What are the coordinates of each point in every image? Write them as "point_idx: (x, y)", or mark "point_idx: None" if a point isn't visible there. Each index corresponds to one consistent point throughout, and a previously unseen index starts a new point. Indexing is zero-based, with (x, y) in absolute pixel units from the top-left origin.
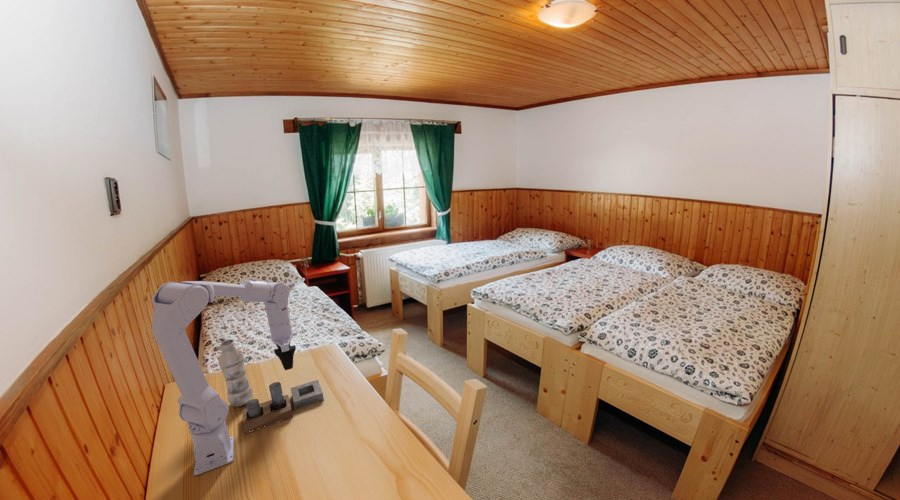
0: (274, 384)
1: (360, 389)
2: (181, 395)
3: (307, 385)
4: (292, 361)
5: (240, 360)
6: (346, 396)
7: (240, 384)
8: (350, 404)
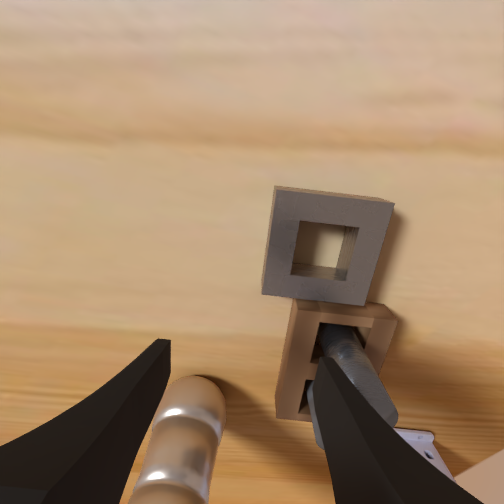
0: None
1: (443, 25)
2: None
3: (290, 238)
4: (360, 396)
5: None
6: (434, 110)
7: (210, 466)
8: (499, 116)
